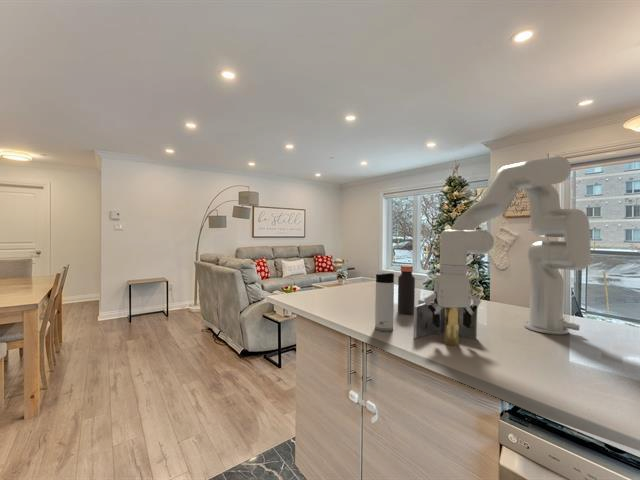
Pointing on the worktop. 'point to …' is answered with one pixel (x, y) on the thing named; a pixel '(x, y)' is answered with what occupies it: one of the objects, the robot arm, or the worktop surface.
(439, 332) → the hinge
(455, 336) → the hinge pin
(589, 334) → the worktop surface
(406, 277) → the bottle
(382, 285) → the travel mug
